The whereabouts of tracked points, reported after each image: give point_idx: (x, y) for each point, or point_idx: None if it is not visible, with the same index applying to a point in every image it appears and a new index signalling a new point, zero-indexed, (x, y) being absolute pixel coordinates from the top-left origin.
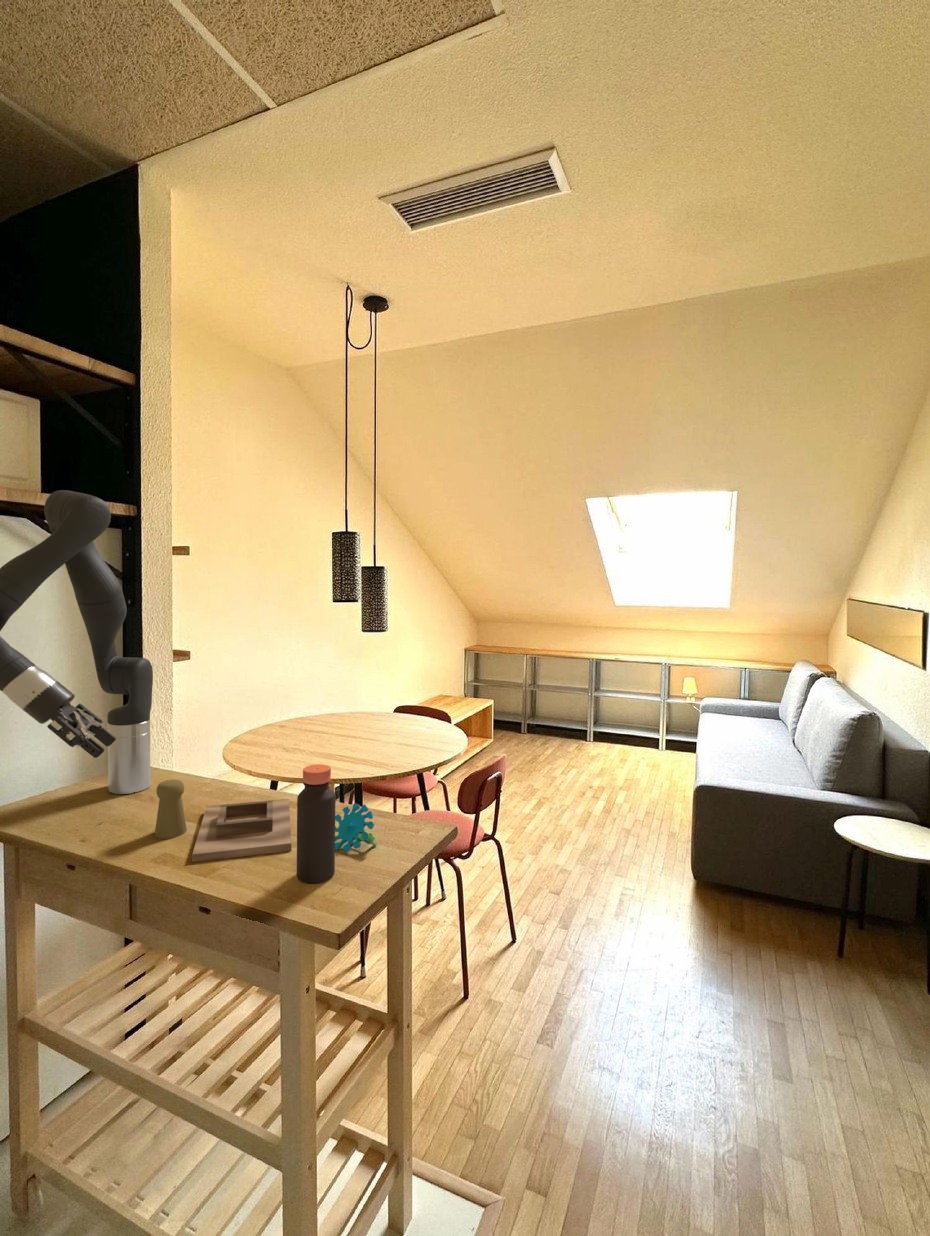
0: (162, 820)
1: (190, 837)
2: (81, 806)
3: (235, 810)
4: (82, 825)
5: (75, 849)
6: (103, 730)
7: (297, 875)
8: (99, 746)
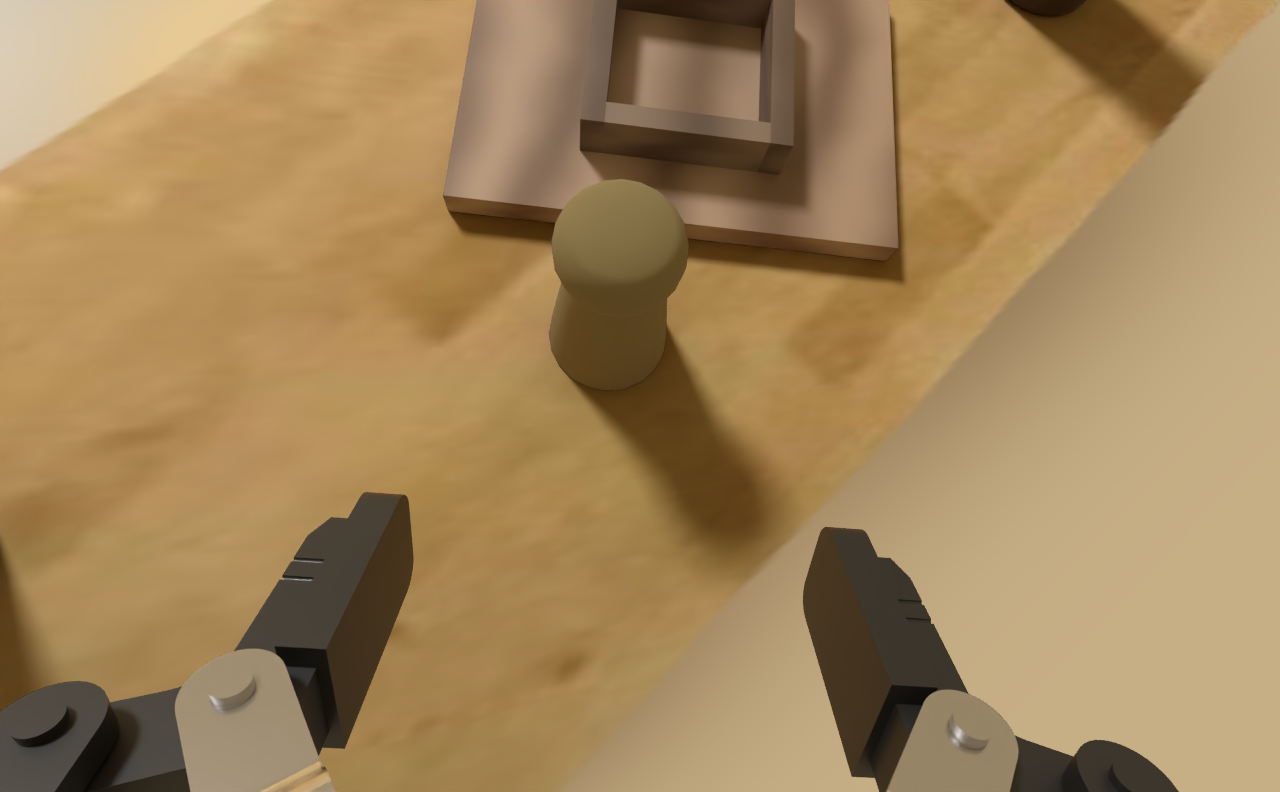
0: (658, 335)
1: None
2: None
3: (608, 86)
4: (376, 713)
5: (654, 678)
6: (345, 624)
7: (1062, 8)
8: (877, 569)
